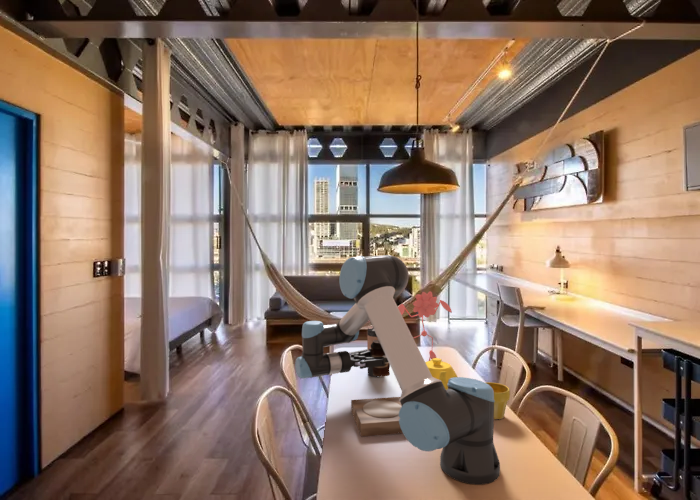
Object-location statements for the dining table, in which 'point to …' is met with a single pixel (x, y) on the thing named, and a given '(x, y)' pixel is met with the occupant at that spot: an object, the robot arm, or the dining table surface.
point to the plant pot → (500, 399)
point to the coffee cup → (378, 352)
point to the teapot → (441, 370)
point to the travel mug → (371, 337)
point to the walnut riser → (377, 416)
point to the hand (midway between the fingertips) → (392, 354)
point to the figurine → (425, 310)
